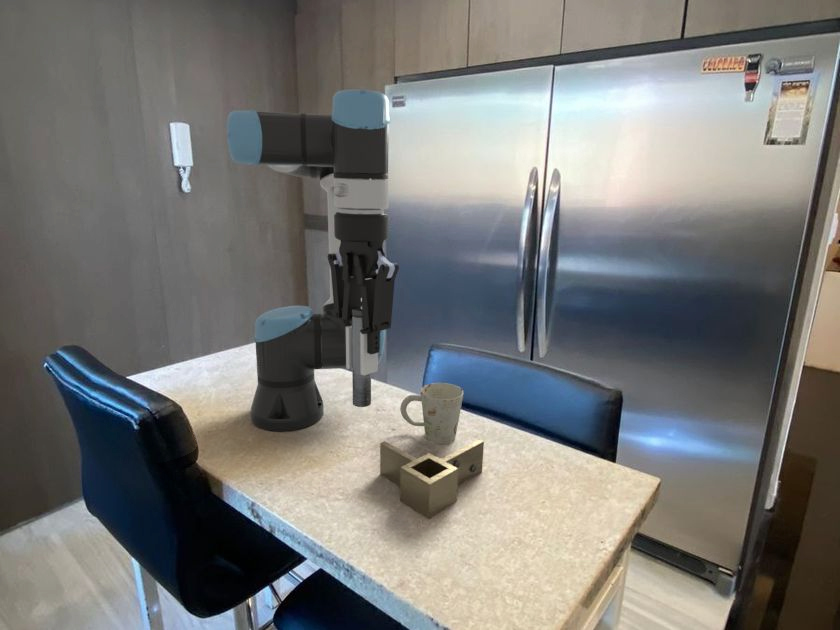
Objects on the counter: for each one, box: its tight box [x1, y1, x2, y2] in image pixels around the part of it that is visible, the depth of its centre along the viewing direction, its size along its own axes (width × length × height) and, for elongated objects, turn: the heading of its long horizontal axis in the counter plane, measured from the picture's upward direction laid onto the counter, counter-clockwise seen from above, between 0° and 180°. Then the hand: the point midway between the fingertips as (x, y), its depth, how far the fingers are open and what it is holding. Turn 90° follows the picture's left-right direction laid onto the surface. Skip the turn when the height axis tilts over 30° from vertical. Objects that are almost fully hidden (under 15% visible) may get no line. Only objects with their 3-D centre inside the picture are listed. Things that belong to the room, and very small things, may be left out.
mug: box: [399, 382, 464, 445], centre depth 103 cm, size 8×13×10 cm, turn 78°
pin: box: [351, 306, 372, 408], centre depth 78 cm, size 3×3×15 cm
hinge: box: [379, 439, 485, 520], centre depth 88 cm, size 14×16×6 cm
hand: (361, 369), depth 78 cm, fingers closed on pin, 3 cm apart
